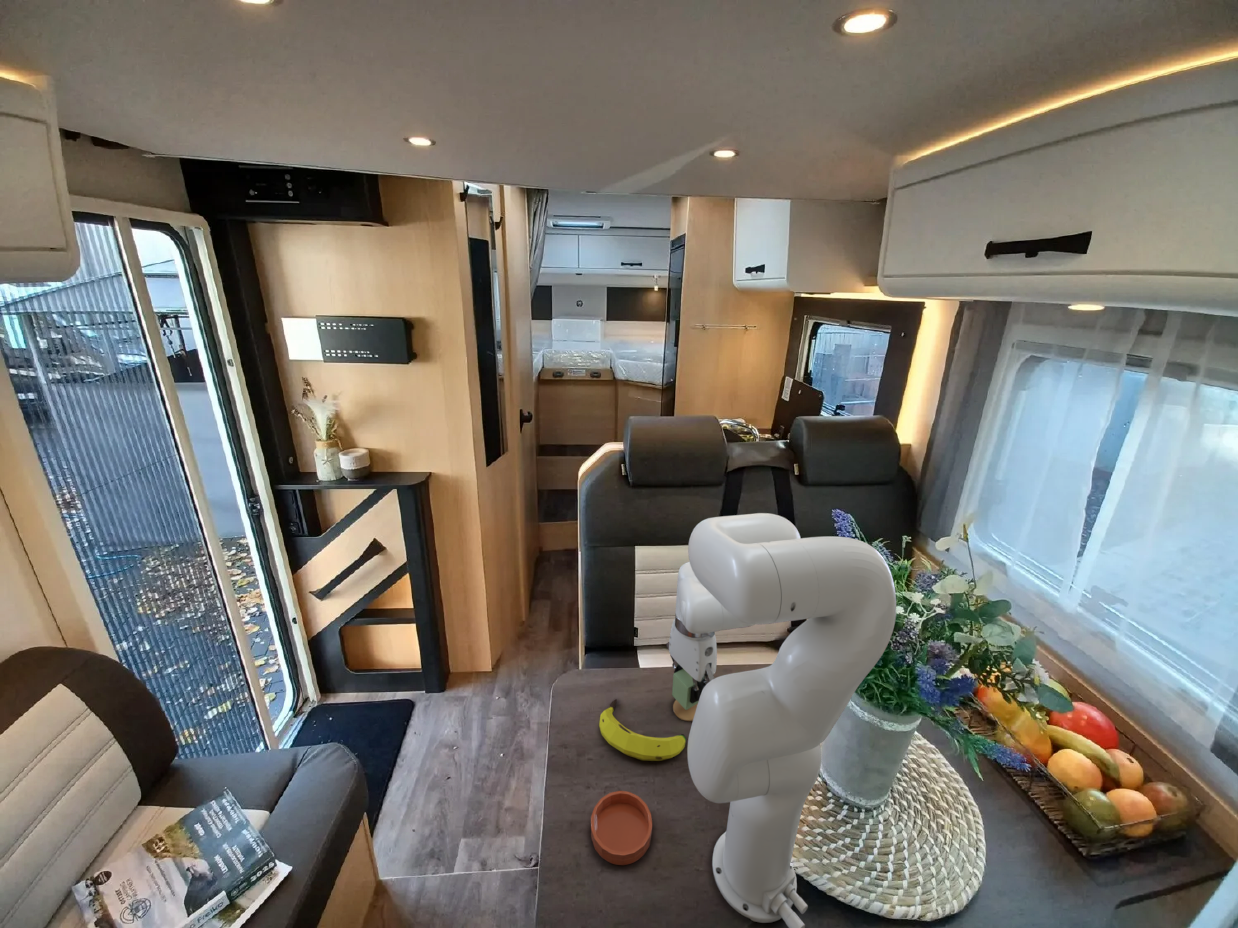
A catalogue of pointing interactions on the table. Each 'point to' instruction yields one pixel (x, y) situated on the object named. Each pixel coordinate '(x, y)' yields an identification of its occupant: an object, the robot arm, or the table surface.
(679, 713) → the mat
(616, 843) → the bowl
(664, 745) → the banana
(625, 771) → the table surface
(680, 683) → the block
